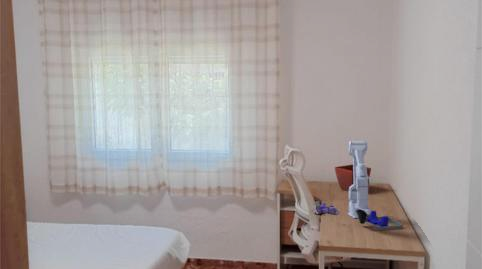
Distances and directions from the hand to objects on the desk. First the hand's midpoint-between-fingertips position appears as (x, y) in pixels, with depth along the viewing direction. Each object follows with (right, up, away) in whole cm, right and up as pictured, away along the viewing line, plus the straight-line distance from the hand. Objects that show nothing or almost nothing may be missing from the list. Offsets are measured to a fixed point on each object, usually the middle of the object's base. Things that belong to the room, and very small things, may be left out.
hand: (362, 223), depth 220 cm
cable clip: (+9, -1, +2) cm, 9 cm away
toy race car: (-14, 0, +27) cm, 31 cm away
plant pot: (+18, +7, +83) cm, 85 cm away
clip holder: (+10, -1, +2) cm, 11 cm away
